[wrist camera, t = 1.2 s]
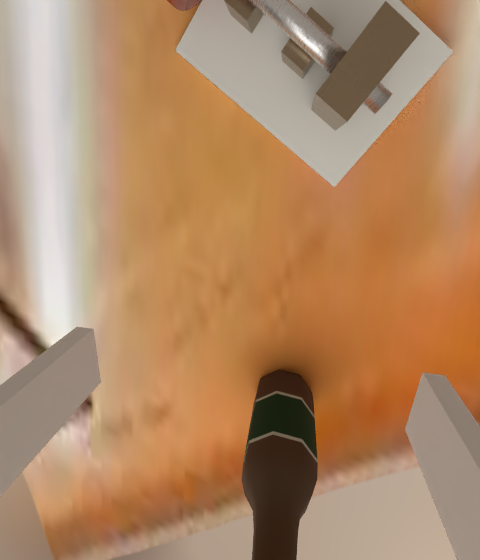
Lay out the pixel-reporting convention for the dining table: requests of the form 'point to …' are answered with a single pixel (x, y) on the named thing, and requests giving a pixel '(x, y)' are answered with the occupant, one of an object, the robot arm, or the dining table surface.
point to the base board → (305, 77)
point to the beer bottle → (280, 463)
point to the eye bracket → (353, 66)
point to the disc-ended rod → (305, 39)
